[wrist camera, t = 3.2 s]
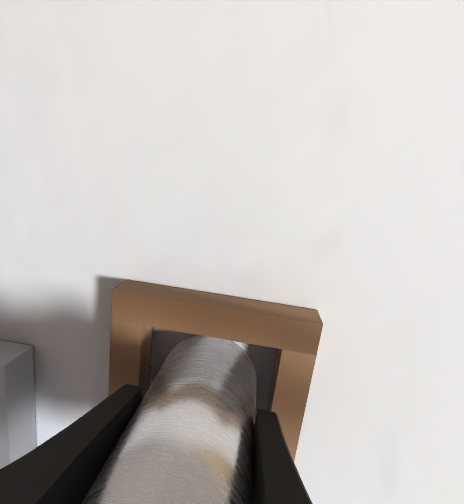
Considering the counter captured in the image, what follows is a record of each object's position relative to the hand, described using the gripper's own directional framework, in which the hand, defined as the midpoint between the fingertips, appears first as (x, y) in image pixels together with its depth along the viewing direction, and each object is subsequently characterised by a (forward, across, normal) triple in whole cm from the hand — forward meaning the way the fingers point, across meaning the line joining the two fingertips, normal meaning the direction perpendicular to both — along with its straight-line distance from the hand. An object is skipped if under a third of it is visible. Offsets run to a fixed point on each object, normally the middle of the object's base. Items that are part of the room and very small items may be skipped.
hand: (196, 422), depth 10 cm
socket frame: (+2, 0, 0) cm, 2 cm away
